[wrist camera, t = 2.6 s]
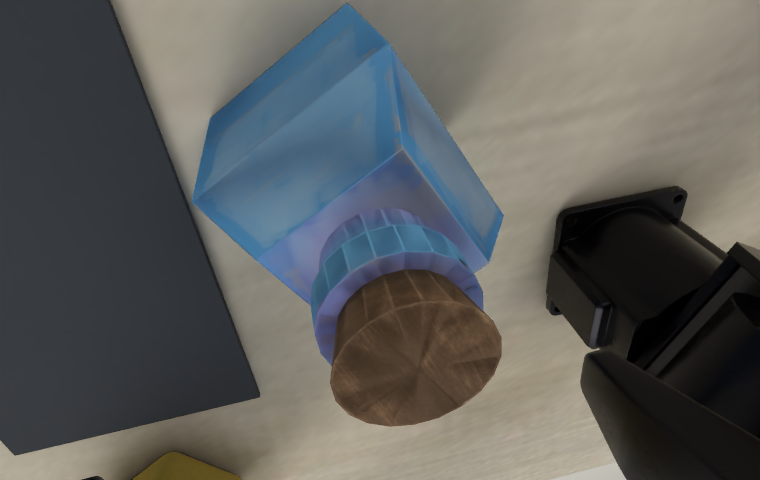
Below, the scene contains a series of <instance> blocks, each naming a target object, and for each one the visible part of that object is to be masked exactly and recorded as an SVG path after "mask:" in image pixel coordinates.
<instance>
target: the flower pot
mask: <svg viewBox="0 0 760 480" xmlns="http://www.w3.org/2000/svg"><path fill="white" fill-rule="evenodd" d="M132 480H242V479H241V478H240V477H239V476H237V475H234V474H232V473H229V472H226V471H224V470H221V469H219V468H216V467H213V466H211V465H208V464H206V463H203V462H201V461H199V460H196V459H193V458H191V457H189V456H186V455H184V454H181V453H178V452H169V453H166V454H165V455H163V456H162V457H160V458H159V459H158V460H157V461H155V462H154V463H153V464H151V465H150V466H149V467H148V468H146V469H145V470H144V471H142V472H141V473H140V474H139V475H137V476H136V477H135V478H133V479H132Z"/></svg>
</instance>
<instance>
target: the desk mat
mask: <svg viewBox="0 0 760 480" xmlns="http://www.w3.org/2000/svg"><path fill="white" fill-rule="evenodd" d="M259 397H260V392H259V390H258V387H257V385H256V382H255V379H254V377H253V374H252V371H251V369H250V366H249V364H248V361H247V358H246V356H245V353H244V350H243V348H242V345H241V343H240V340H239V337H238V335H237V332H236V329H235V327H234V324H233V322H232V319H231V316H230V314H229V311H228V308H227V306H226V303H225V301H224V298H223V295H222V293H221V290H220V287H219V285H218V282H217V280H216V277H215V274H214V272H213V269H212V266H211V264H210V261H209V259H208V256H207V253H206V251H205V248H204V245H203V243H202V240H201V238H200V235H199V232H198V230H197V227H196V224H195V222H194V219H193V216H192V214H191V211H190V209H189V206H188V203H187V201H186V198H185V195H184V193H183V190H182V188H181V185H180V182H179V180H178V177H177V174H176V172H175V169H174V167H173V164H172V161H171V159H170V156H169V153H168V151H167V148H166V146H165V143H164V140H163V138H162V135H161V132H160V130H159V127H158V125H157V122H156V119H155V117H154V114H153V111H152V109H151V106H150V104H149V101H148V98H147V96H146V93H145V90H144V88H143V85H142V83H141V80H140V77H139V75H138V72H137V69H136V67H135V64H134V62H133V59H132V56H131V54H130V51H129V48H128V46H127V43H126V41H125V38H124V35H123V33H122V30H121V27H120V25H119V22H118V20H117V17H116V14H115V12H114V9H113V6H112V4H111V1H110V0H0V440H1V441H2V442H3V444H4V445H5V446H6V447H7V448H8V449H9V450H10V451H11V452H12V453H13V454H14V455H20V454H24V453H28V452H32V451H36V450H41V449H45V448H49V447H53V446H57V445H62V444H66V443H70V442H74V441H78V440H83V439H87V438H91V437H95V436H99V435H104V434H108V433H112V432H116V431H120V430H125V429H129V428H133V427H137V426H141V425H146V424H150V423H154V422H158V421H162V420H167V419H171V418H175V417H179V416H183V415H188V414H192V413H196V412H200V411H204V410H209V409H213V408H217V407H221V406H225V405H230V404H234V403H238V402H242V401H246V400H251V399H255V398H259Z"/></svg>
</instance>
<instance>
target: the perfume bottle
mask: <svg viewBox="0 0 760 480" xmlns="http://www.w3.org/2000/svg"><path fill="white" fill-rule="evenodd" d="M192 203H193V204H194V205H195V206H197V207H198V208H199V209H200V210H201V211H202V212H203V213H204V214H205V215H207V216H208V217H209V218H210V219H211V220H212V221H213V222H214V223H215V224H217V225H218V226H219V227H220V228H221V229H222V230H223V231H224V232H225V233H227V234H228V235H229V236H230V237H231V238H232V239H233V240H234V241H235V242H237V243H238V244H239V245H240V246H241V247H242V248H243V249H244V250H245V251H247V252H248V253H249V254H250V255H251V256H252V257H253V258H254V259H255V260H257V261H258V262H259V263H260V264H261V265H263V266H264V267H265V268H266V269H267V270H269V271H270V272H271V273H272V274H273V275H275V276H276V277H277V278H278V279H279V280H281V281H282V282H283V283H284V284H285V285H287V286H288V287H289V288H290V289H291V290H293V291H294V292H295V293H296V294H297V295H299V296H300V297H301V298H302V299H303V300H305V301H306V302H307V303H308V304H309V305H311V311H312V318H313V325H314V332H315V337H316V340H317V343H318V346H319V349H320V353H321V354H322V356H323V357H324V358H325V359H326V360H327V361H328V362H329V363H330V364H331V366H332V371H331V381H330V384H331V387H332V391H333V394H334V397H335V400H336V402H337V403H338V404H339V405H340V406H341V407H342V408H343V409H344V410H345V411H346V412H347V413H348V414H349V415H351V416H353V417H355V418H357V419H360V420H362V421H364V422H366V423H370V424H377V425H384V426H402V425H414V424H418V423H421V422H425V421H429V420H432V419H436V418H439V417H441V416H443V415H445V414H447V413H449V412H451V411H453V410H455V409H457V408H459V407H461V406H462V405H463V404H465V403H466V402H467V401H469V400H470V399H471V398H473V397H474V396H475V395H476V394H478V393H479V392H480V391H481V390H482V389H483V387H484V386H485V385H486V384H487V382H488V381H489V380H490V379H491V377H492V376H493V375H494V373H495V370H496V368H497V365H498V363H499V361H500V358H501V336H500V334H499V332H498V330H497V328H496V326H495V324H494V322H493V320H492V319H491V318H490V317H489V316H488V315H487V314H486V313H485V312H484V311H483V291H482V289H481V287H480V285H479V283H478V281H477V279H476V277H475V275H474V273H475V272H477V271H478V270H479V269H481V268H482V267H484V266H485V265H487V264H488V263H489V261H490V258H491V255H492V252H493V248H494V245H495V242H496V239H497V236H498V232H499V229H500V226H501V223H502V220H503V216H504V215H503V214H502V212H501V211H500V209H499V208H498V206H497V205H496V203H495V202H494V200H493V199H492V197H491V196H490V194H489V193H488V191H487V190H486V188H485V187H484V185H483V184H482V182H481V181H480V179H479V178H478V176H477V175H476V173H475V172H474V170H473V169H472V167H471V165H470V164H469V162H468V161H467V159H466V158H465V156H464V155H463V153H462V152H461V150H460V149H459V147H458V146H457V144H456V143H455V141H454V140H453V138H452V137H451V135H450V134H449V132H448V131H447V129H446V128H445V126H444V125H443V123H442V122H441V120H440V119H439V117H438V116H437V114H436V113H435V111H434V110H433V108H432V107H431V105H430V104H429V102H428V101H427V99H426V98H425V96H424V95H423V93H422V92H421V90H420V89H419V87H418V86H417V84H416V83H415V81H414V80H413V78H412V77H411V75H410V74H409V72H408V71H407V69H406V68H405V66H404V65H403V63H402V62H401V60H400V59H399V57H398V56H397V54H396V53H395V51H394V50H393V48H392V47H391V45H390V44H389V42H388V41H387V40H386V39H385V38H384V37H382V36H381V35H380V34H379V33H378V32H377V31H376V30H375V29H374V28H373V27H372V26H371V25H370V24H369V23H368V22H367V21H366V20H365V19H364V18H363V17H362V16H361V15H359V14H358V13H357V12H356V11H355V10H354V9H353V8H352V7H351V6H350V5H349V4H348V3H346V4H345V5H344V6H343V7H341V8H340V9H339V10H338V11H337V12H336V13H334V14H333V15H332V16H331V17H330V18H328V19H327V20H326V21H325V22H324V23H323V24H321V25H320V26H319V27H318V28H317V29H315V30H314V31H313V32H312V33H311V34H309V35H308V36H307V37H306V38H305V39H304V40H302V41H301V42H300V43H299V44H298V45H296V46H295V47H294V48H293V49H292V50H291V51H289V52H288V53H287V54H286V55H285V56H283V57H282V58H281V59H280V60H279V61H277V62H276V63H275V64H274V65H273V66H272V67H270V68H269V69H268V70H267V71H266V72H264V73H263V74H262V75H261V76H260V77H259V78H257V79H256V80H255V81H254V82H253V83H251V84H250V85H249V86H248V87H247V88H245V89H244V90H243V91H242V92H241V93H240V94H238V95H237V96H236V97H235V98H234V99H232V100H231V101H230V102H229V103H228V104H226V105H225V106H224V107H223V108H222V109H221V110H219V111H218V112H217V113H216V114H215V115H213V116H212V117H211V118H210V121H209V126H208V130H207V135H206V139H205V144H204V148H203V153H202V157H201V162H200V166H199V171H198V175H197V180H196V184H195V189H194V193H193V198H192Z"/></svg>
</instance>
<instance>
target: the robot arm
mask: <svg viewBox="0 0 760 480" xmlns="http://www.w3.org/2000/svg"><path fill="white" fill-rule="evenodd" d="M675 196H676V197H675ZM686 199H687V192H686V191H685V190H684V189H682V188H681V187H679V186H672V187H668V188H663V189H658V190H653V191H648V192H644V193H639V194H634V195H629V196H624V197H620V198H615V199H610V200H605V201H601V202H596V203H591V204H586V205H581V206H577V207H572V208H567V209H565V210H563V211H562V212H561V213H560V214H559V215H558V218H557V223H556V231H555V239H554V247H553V252H552V254H551V256H550V264H549V273H548V281H547V289H546V293H547V303H546V308H547V309H548V311H549V312H550V313H551V314H552V315H561V314H563V315H564V317H565V318H566V319H567V321H568V322H569V323H570V324H571V326H572V327H573V328H574V330H575V331H576V332H577V334H578V335H579V336H580V337H581V339H582V340H583V341H584V343H585V344H586V345H587V346H588V347H590V348H591V349H597V348H599V349H600V350H598V351H594V352H590V353H587V354H586V356H585V358H584V363H583V368H582V374H581V380H580V383H581V389H582V392H583V394H584V396H585V398H586V400H587V402H588V404H589V406H590V408H591V410H592V413H593V415H594V417H595V419H596V421H597V423H598V425H599V427H600V429H601V431H602V433H603V435H604V437H605V439H606V441H607V443H608V446H609V448H610V450H611V452H612V454H613V456H614V458H615V460H616V462H617V464H618V466H619V467H620V469H621V470H622V472H623V474H624V476H625V478H626V479H627V480H760V250H758V249H756V248H753V247H750V246H747V245H745V244H742V243H739V242H736V243H735V244H734V245H733V247H732V248H731V249H730V250H729V251H728V252H727V253H725V252H724V251H723V250H721V249H720V248H718V247H717V246H716V245H714V244H713V243H711V242H710V241H709V240H707V239H706V238H705V237H703V236H702V235H700V234H699V233H698V232H696V231H695V230H693V229H692V228H691V227H689V226H688V225H686V224H685V223H684V222H682V221H681V220H680V219H681V216H682V213H683V209H684V206H685V203H686ZM569 218H571V219H570V220H569V221H567V220H568V219H569ZM82 480H104V479H103V478H102V477H99V476H94V477H90V478H86V479H82Z"/></svg>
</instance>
